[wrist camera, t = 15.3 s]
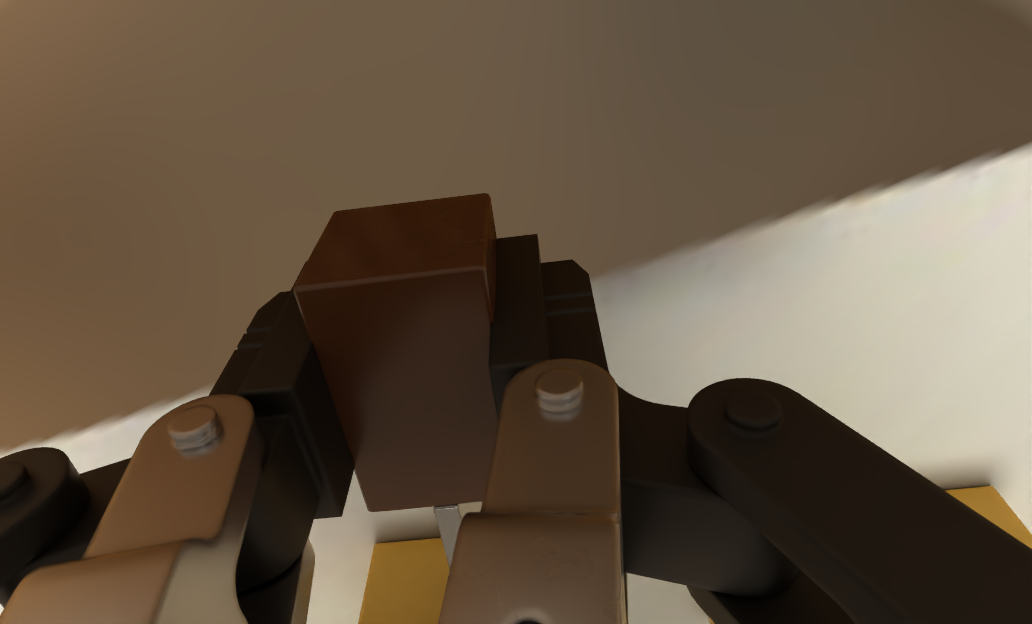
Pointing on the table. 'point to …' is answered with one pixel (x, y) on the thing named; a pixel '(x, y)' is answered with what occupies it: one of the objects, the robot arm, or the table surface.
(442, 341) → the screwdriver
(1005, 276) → the table surface
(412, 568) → the butter slice
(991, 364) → the table surface
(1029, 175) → the table surface
